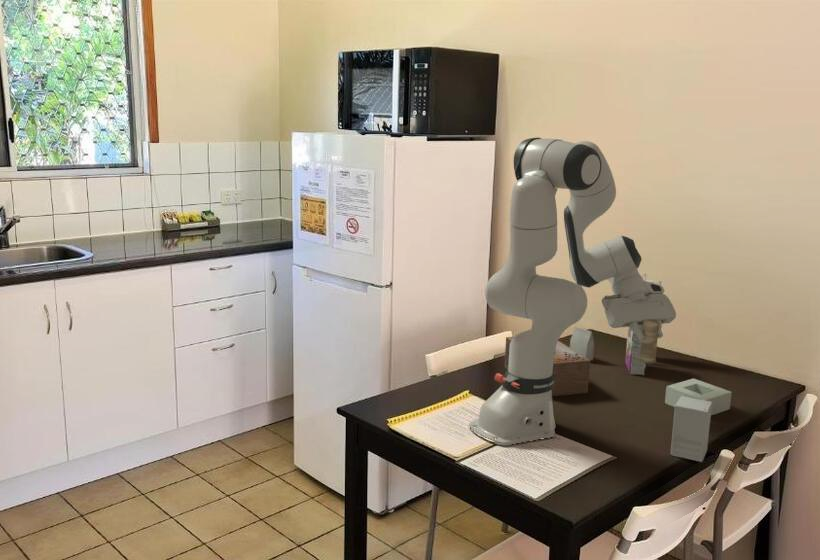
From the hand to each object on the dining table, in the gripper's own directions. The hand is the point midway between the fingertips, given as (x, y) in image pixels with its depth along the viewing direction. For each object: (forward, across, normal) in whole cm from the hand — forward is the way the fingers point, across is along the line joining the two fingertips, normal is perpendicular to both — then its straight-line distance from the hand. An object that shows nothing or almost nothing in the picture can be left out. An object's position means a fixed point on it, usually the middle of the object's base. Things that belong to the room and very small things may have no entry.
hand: (651, 338), depth 195 cm
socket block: (+16, +15, +12) cm, 25 cm away
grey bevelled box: (-15, +7, +44) cm, 47 cm away
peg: (+4, 0, +5) cm, 7 cm away
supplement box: (+32, -7, -4) cm, 33 cm away
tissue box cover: (-6, -14, +34) cm, 38 cm away
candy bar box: (-5, +18, +34) cm, 38 cm away
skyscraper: (-11, +27, +40) cm, 49 cm away
